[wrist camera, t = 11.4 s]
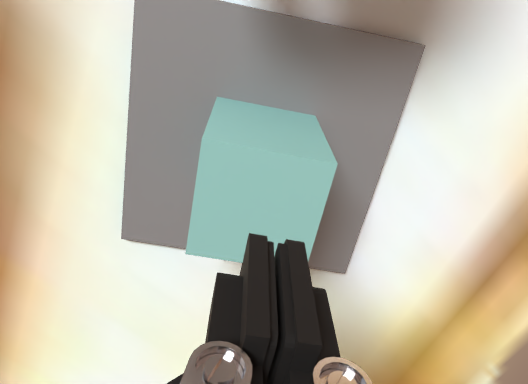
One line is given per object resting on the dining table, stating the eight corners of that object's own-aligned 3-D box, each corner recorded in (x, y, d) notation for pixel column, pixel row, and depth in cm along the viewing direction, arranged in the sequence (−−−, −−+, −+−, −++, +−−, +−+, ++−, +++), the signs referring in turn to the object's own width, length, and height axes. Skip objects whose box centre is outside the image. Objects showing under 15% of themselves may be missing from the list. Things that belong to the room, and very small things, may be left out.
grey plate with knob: (343, 268, 27) (366, 341, 21) (123, 234, 25) (86, 302, 20) (421, 44, 21) (481, 64, 15) (138, -18, 19) (91, -20, 14)
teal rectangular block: (292, 202, 24) (304, 272, 18) (203, 186, 23) (185, 254, 17) (315, 115, 22) (337, 163, 16) (217, 96, 21) (202, 138, 15)
